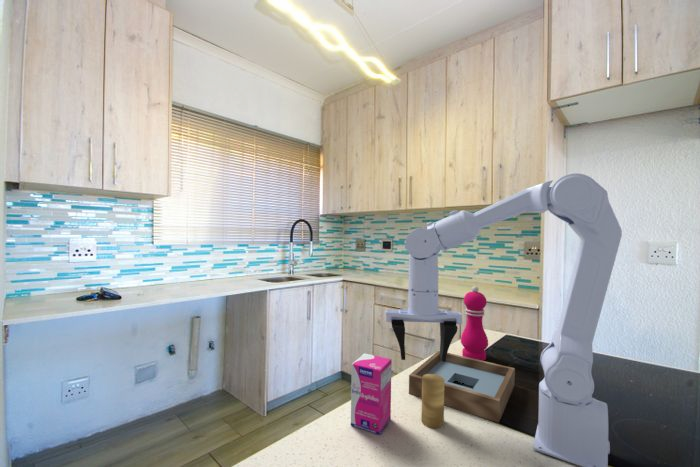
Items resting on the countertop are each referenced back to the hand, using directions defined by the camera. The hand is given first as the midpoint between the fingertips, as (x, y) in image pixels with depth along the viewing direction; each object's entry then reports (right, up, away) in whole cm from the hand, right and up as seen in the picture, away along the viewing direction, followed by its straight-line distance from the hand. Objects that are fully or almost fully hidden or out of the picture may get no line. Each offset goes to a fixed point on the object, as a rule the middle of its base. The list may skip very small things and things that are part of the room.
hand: (422, 358), depth 63 cm
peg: (+1, -10, -4) cm, 11 cm away
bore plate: (+11, -10, +9) cm, 17 cm away
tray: (+11, -10, +9) cm, 17 cm away
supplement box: (-10, -10, -4) cm, 15 cm away
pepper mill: (+21, -10, +28) cm, 36 cm away
